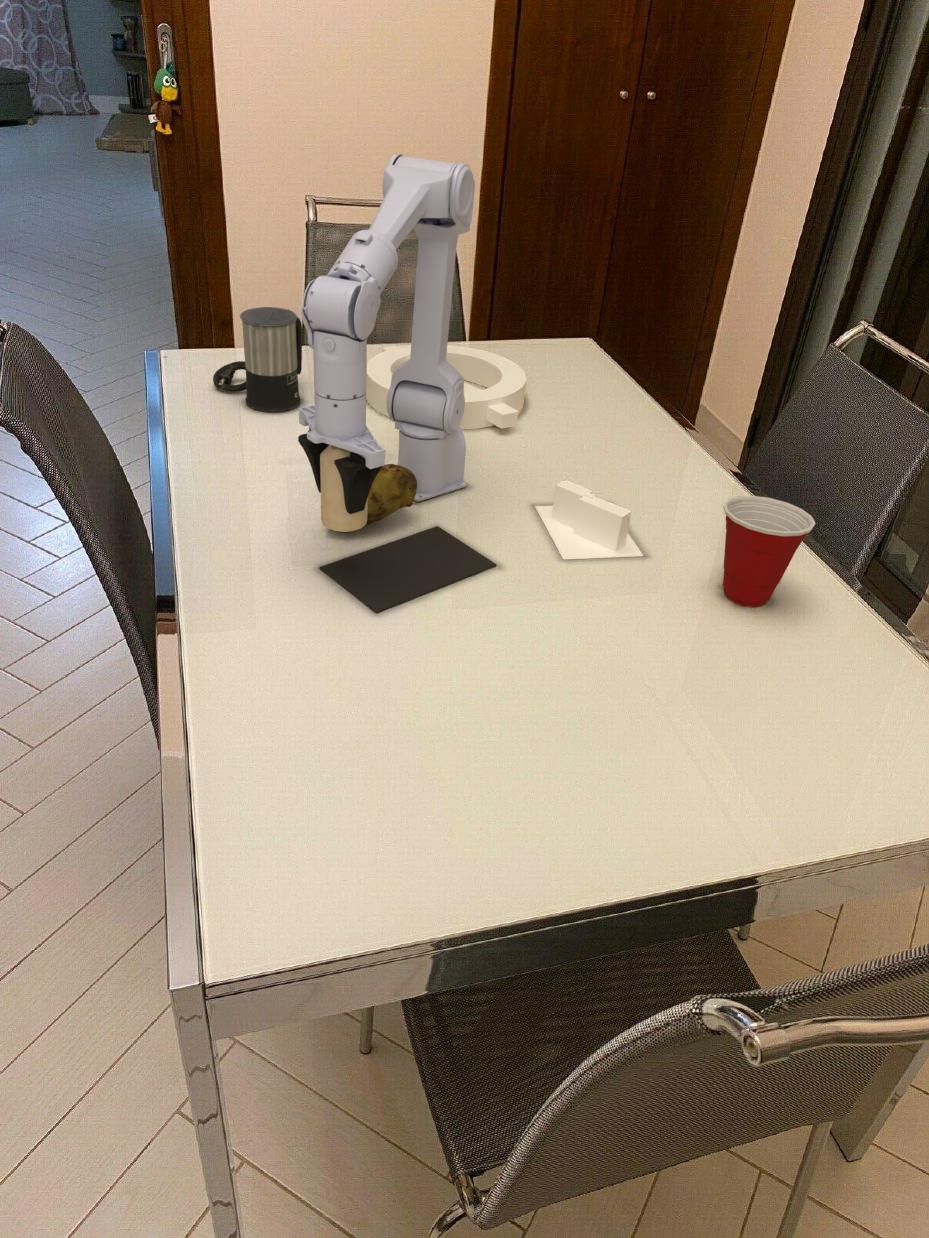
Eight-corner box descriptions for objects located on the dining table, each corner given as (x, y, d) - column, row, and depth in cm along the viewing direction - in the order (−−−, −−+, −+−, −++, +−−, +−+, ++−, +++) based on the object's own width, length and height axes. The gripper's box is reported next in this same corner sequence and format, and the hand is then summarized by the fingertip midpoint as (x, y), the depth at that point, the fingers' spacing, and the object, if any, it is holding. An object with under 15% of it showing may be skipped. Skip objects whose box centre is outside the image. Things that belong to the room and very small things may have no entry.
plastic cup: (791, 583, 122) (817, 501, 115) (787, 627, 114) (815, 540, 107) (707, 564, 125) (728, 483, 118) (697, 605, 116) (719, 520, 109)
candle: (359, 535, 111) (360, 457, 105) (314, 528, 111) (313, 450, 106) (372, 514, 115) (374, 438, 109) (329, 507, 116) (328, 431, 110)
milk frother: (296, 415, 156) (293, 326, 147) (200, 408, 155) (191, 318, 147) (308, 384, 167) (306, 300, 159) (219, 378, 167) (212, 293, 158)
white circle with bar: (383, 362, 179) (384, 337, 177) (529, 379, 177) (532, 354, 175) (349, 418, 156) (349, 390, 154) (515, 438, 154) (518, 410, 152)
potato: (318, 510, 129) (318, 457, 125) (411, 507, 132) (413, 454, 128) (324, 541, 123) (324, 485, 118) (421, 536, 125) (424, 482, 121)
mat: (437, 527, 128) (437, 525, 128) (496, 566, 121) (496, 564, 120) (319, 568, 117) (319, 566, 117) (376, 613, 110) (376, 611, 110)
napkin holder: (645, 556, 125) (652, 518, 122) (563, 560, 123) (569, 521, 120) (607, 503, 137) (614, 467, 134) (533, 506, 135) (537, 470, 132)
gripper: (274, 376, 106) (279, 485, 113) (347, 420, 97) (347, 535, 105) (327, 365, 110) (328, 471, 117) (402, 407, 101) (398, 518, 109)
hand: (340, 500), depth 111 cm, fingers closed on candle, 5 cm apart
